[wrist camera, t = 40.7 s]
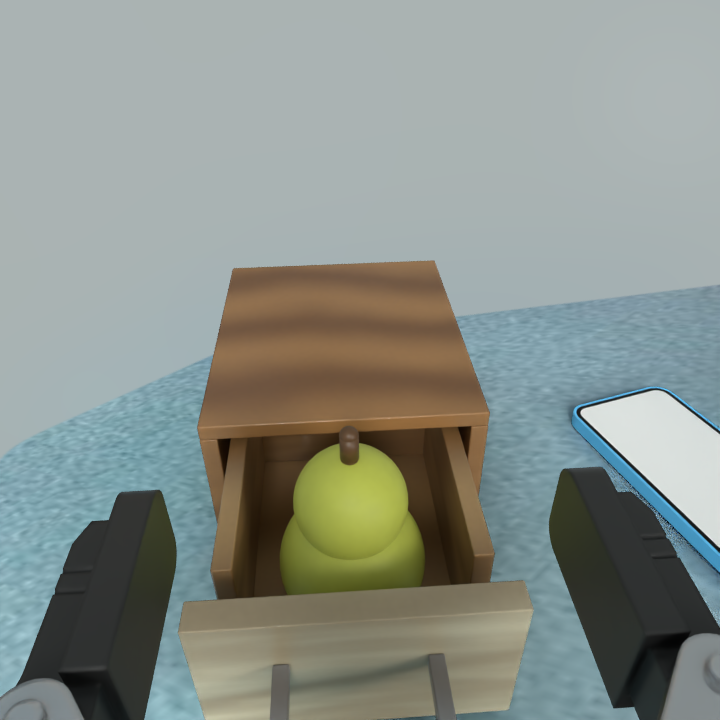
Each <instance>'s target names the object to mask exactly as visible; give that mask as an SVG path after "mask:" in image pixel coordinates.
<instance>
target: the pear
mask: <svg viewBox="0 0 720 720" xmlns="http://www.w3.org/2000/svg"><path fill="white" fill-rule="evenodd" d="M293 509H294V515H293V517H292V518H291V520H290V521H289V523H288V525H287V528H286V530H285V532H284V535H283V539H282V543H281V549H280V572H281V577H282V582H283V585H284V588H285V590H286V592H287V594H288V595H299V594H315V593H331V592H347V591H363V590H378V589H394V588H410V587H420V586H421V584H422V580H423V576H424V570H425V549H424V544H423V540H422V536H421V533H420V530H419V528H418V526H417V523H416V521H415V520H414V518H413V516H412V515H411V514H410V512H409V511H408V492H407V487H406V483H405V480H404V478H403V476H402V474H401V472H400V470H399V468H398V467H397V466H396V464H395V463H394V462H393V461H392V460H391V459H390V458H389V457H388V456H387V455H386V454H384V453H383V452H381V451H380V450H378V449H376V448H374V447H372V446H369V445H366V444H361V443H359V433H358V431H357V429H356V428H354V427H353V426H345V427H343V428H342V429H341V430H340V433H339V444H336V445H333V446H330V447H328V448H326V449H324V450H322V451H320V452H319V453H317V454H316V455H315V456H314V457H313V458H312V459H311V460H310V461H309V462H308V463H307V464H306V465H305V467H304V468H303V470H302V471H301V473H300V475H299V477H298V479H297V482H296V485H295V489H294V496H293Z"/></svg>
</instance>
